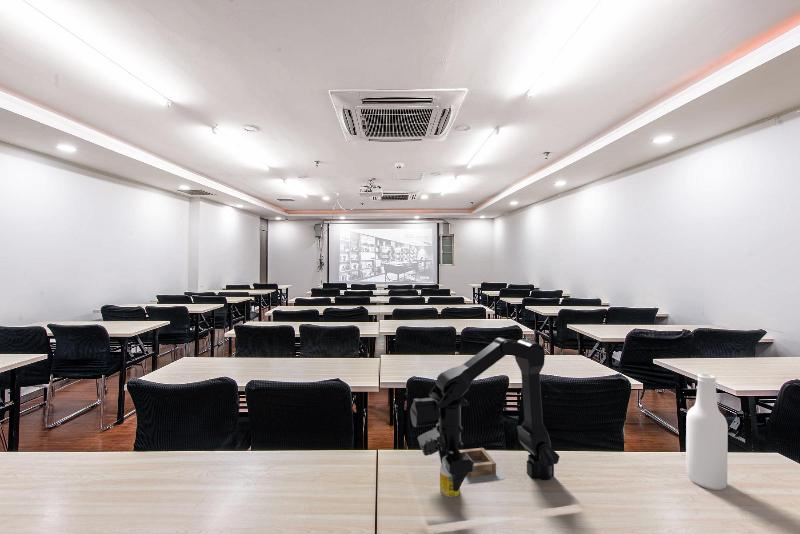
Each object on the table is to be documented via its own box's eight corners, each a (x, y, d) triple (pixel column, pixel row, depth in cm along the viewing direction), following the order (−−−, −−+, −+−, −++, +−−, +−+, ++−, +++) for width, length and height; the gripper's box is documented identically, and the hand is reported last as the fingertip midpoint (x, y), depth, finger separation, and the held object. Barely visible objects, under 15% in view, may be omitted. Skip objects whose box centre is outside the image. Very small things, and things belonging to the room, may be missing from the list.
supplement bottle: (450, 486, 98) (450, 451, 98) (464, 496, 93) (464, 460, 93) (435, 493, 95) (435, 457, 95) (449, 504, 90) (448, 467, 90)
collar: (483, 457, 110) (483, 447, 110) (495, 473, 101) (495, 463, 101) (456, 460, 108) (456, 450, 108) (466, 477, 100) (466, 466, 100)
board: (484, 456, 113) (484, 452, 113) (505, 482, 99) (505, 478, 99) (448, 460, 111) (448, 456, 111) (464, 487, 97) (464, 483, 97)
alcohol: (692, 468, 106) (693, 369, 105) (731, 484, 98) (732, 377, 98) (680, 478, 101) (681, 374, 100) (721, 495, 93) (722, 382, 93)
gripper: (412, 409, 101) (412, 463, 102) (430, 442, 83) (430, 507, 83) (449, 406, 103) (449, 459, 104) (474, 437, 85) (474, 501, 85)
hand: (449, 479), depth 94 cm, fingers open, 9 cm apart
